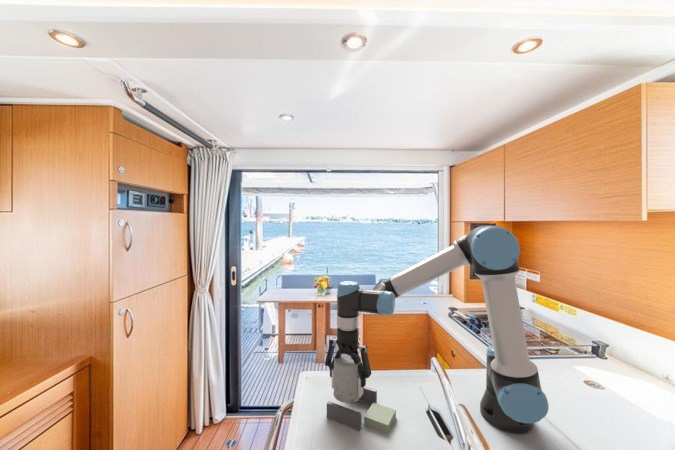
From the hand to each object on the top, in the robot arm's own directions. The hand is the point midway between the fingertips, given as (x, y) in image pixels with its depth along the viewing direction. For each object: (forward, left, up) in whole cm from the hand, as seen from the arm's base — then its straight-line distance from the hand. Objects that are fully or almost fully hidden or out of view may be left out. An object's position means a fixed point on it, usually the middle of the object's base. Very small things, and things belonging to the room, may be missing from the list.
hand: (347, 390), depth 99 cm
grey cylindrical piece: (0, 0, -1) cm, 1 cm away
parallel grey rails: (-2, 0, -6) cm, 7 cm away
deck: (-12, 0, -6) cm, 14 cm away
